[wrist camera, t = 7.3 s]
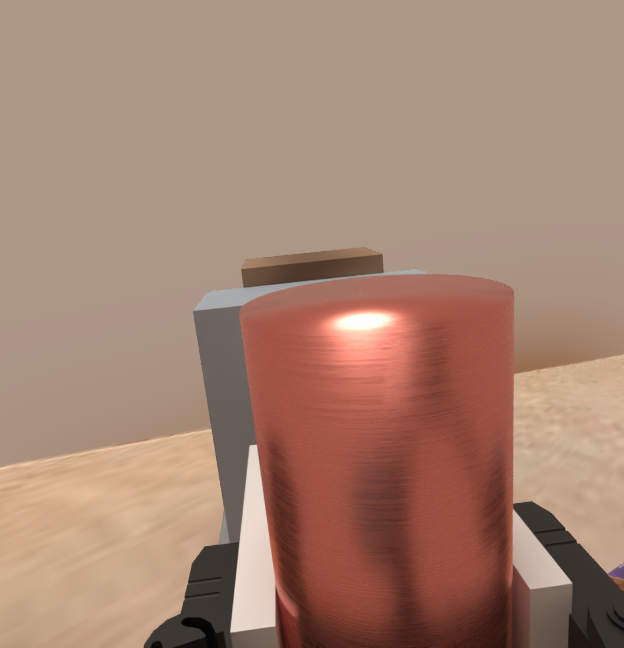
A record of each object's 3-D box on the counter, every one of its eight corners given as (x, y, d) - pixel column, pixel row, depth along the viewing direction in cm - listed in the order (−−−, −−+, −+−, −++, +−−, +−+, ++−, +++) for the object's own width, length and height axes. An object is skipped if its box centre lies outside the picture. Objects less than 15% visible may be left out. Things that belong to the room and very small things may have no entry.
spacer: (370, 323, 25) (364, 247, 24) (387, 344, 21) (382, 254, 20) (255, 336, 25) (246, 259, 24) (253, 359, 21) (241, 268, 20)
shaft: (367, 495, 28) (347, 234, 24) (552, 1042, 10) (579, 307, 6) (292, 505, 28) (260, 243, 24) (333, 1087, 9) (227, 348, 6)
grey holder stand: (422, 478, 30) (412, 253, 27) (519, 649, 18) (522, 287, 15) (229, 504, 29) (194, 276, 26) (202, 699, 18) (131, 330, 14)
